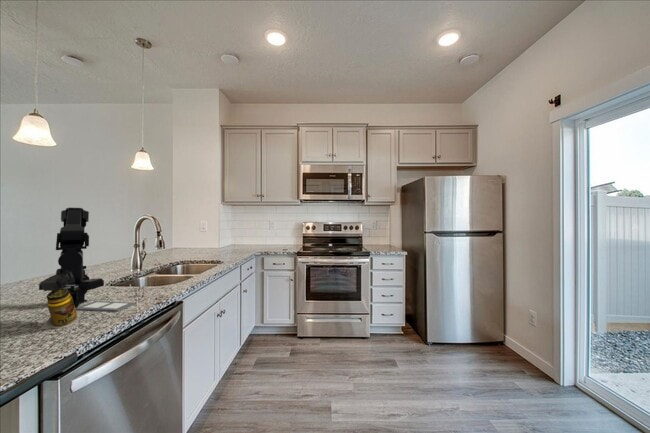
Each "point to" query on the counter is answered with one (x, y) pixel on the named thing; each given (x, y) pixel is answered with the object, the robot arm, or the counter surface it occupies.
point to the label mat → (105, 306)
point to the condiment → (61, 310)
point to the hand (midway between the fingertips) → (72, 307)
